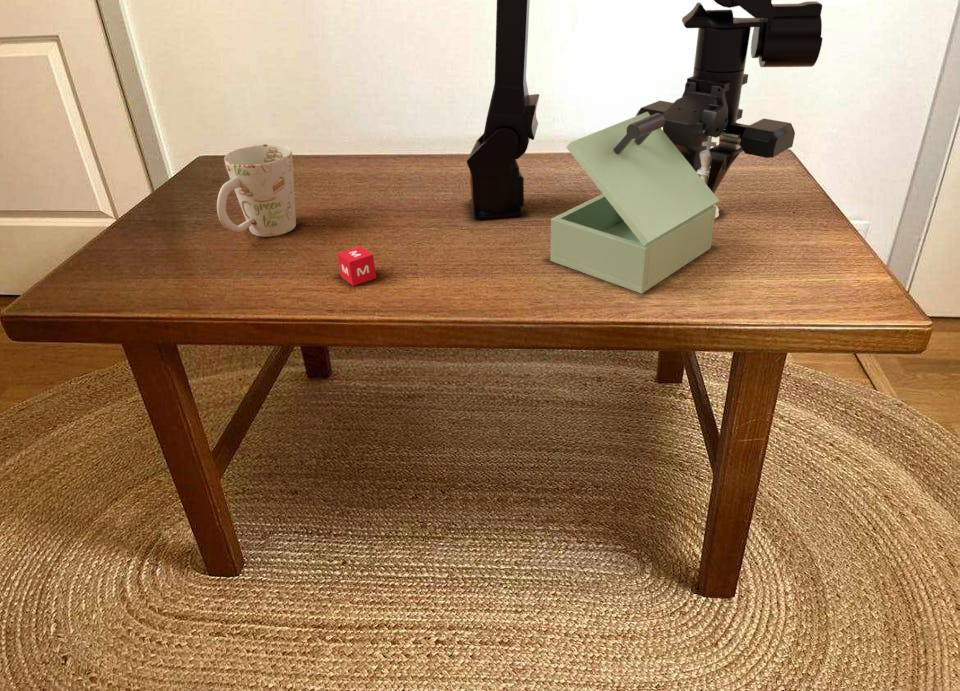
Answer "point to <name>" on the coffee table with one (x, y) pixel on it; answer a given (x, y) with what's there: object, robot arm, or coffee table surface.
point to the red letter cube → (356, 265)
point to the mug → (260, 189)
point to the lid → (643, 176)
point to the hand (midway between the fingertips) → (702, 194)
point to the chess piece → (706, 164)
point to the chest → (624, 245)
